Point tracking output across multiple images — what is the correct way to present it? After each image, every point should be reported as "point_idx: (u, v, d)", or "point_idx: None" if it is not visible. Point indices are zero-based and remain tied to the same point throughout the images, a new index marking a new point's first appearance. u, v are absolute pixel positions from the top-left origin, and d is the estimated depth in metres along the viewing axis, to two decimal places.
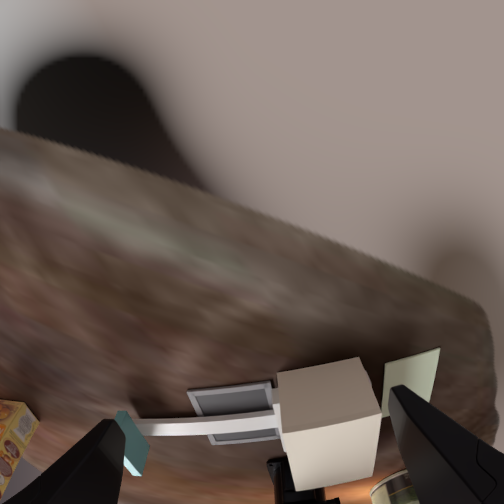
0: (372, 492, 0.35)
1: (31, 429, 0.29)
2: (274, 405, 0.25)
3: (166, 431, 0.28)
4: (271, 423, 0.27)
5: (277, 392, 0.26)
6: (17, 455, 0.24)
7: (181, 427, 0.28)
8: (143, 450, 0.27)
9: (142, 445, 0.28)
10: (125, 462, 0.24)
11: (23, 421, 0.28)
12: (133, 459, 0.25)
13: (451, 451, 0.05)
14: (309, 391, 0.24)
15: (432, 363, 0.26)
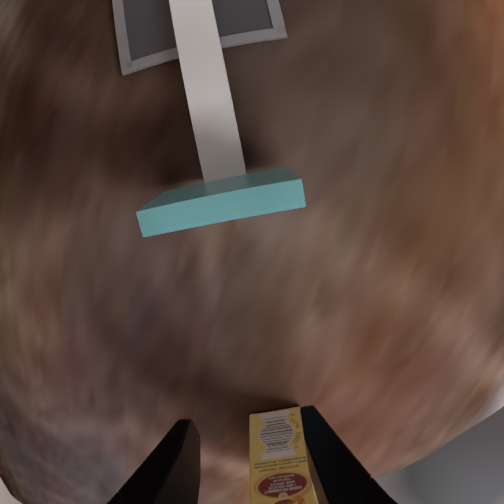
0: None
1: (293, 427, 0.20)
2: None
3: (220, 113, 0.14)
4: None
5: None
6: (301, 482, 0.15)
7: (197, 79, 0.13)
8: (268, 173, 0.14)
9: (258, 174, 0.14)
10: (229, 208, 0.11)
11: (267, 433, 0.20)
12: (236, 187, 0.12)
13: (334, 486, 0.05)
14: None
15: None
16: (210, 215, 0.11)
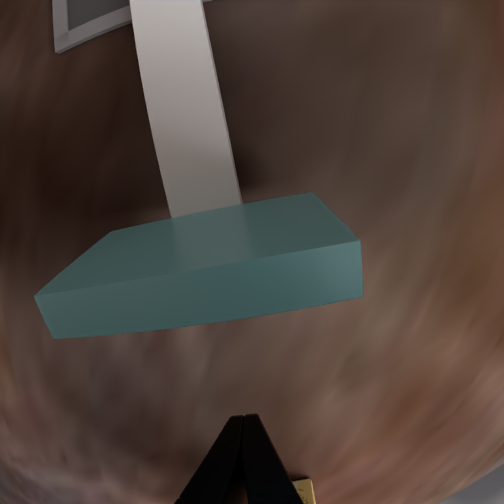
0: None
1: None
2: None
3: (195, 100, 0.08)
4: None
5: None
6: None
7: (159, 45, 0.07)
8: (281, 208, 0.08)
9: (262, 208, 0.08)
10: (202, 301, 0.05)
11: None
12: (217, 250, 0.06)
13: (258, 497, 0.05)
14: None
15: None
16: (162, 314, 0.05)
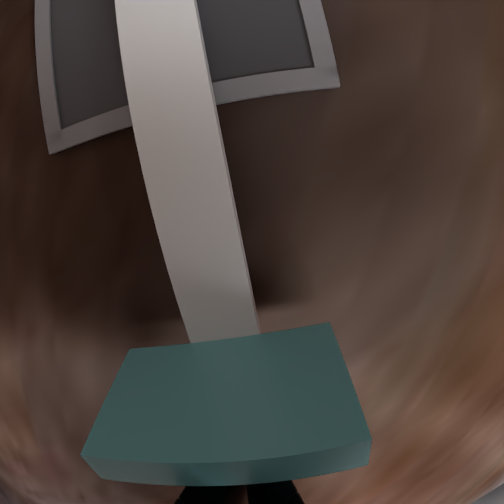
0: None
1: None
2: None
3: (212, 234, 0.08)
4: None
5: None
6: None
7: (167, 165, 0.07)
8: (301, 358, 0.08)
9: (282, 352, 0.08)
10: (237, 475, 0.05)
11: None
12: (248, 434, 0.06)
13: (258, 497, 0.05)
14: None
15: None
16: (204, 480, 0.05)
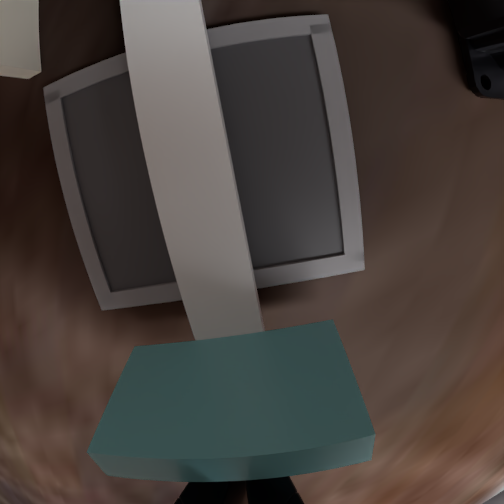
0: None
1: None
2: None
3: (217, 232, 0.08)
4: None
5: None
6: None
7: (173, 164, 0.07)
8: (305, 355, 0.08)
9: (285, 349, 0.08)
10: (242, 471, 0.05)
11: None
12: (253, 429, 0.06)
13: (258, 497, 0.05)
14: None
15: None
16: (209, 475, 0.05)
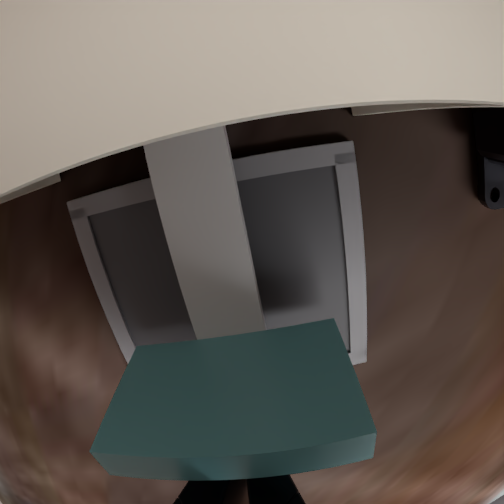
0: None
1: None
2: None
3: (218, 232, 0.08)
4: None
5: None
6: None
7: (173, 164, 0.07)
8: (306, 353, 0.08)
9: (287, 348, 0.08)
10: (245, 469, 0.05)
11: None
12: (255, 428, 0.06)
13: (259, 497, 0.05)
14: None
15: None
16: (212, 474, 0.06)
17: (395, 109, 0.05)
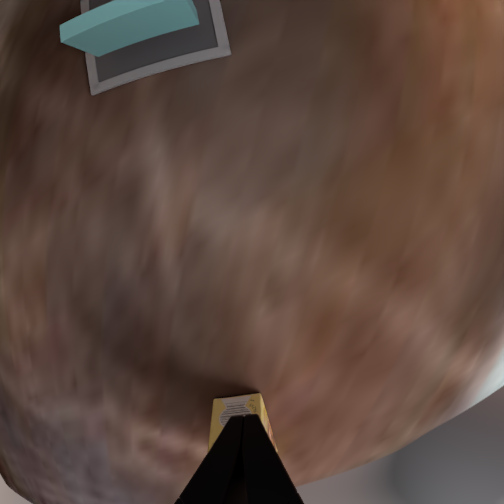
0: None
1: (251, 411, 0.22)
2: None
3: None
4: None
5: None
6: None
7: None
8: None
9: None
10: (124, 6, 0.10)
11: (227, 416, 0.22)
12: None
13: (257, 497, 0.05)
14: None
15: None
16: (110, 14, 0.10)
17: None
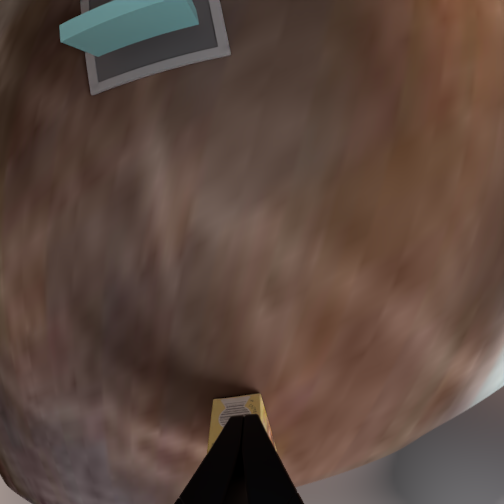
0: None
1: (250, 411, 0.22)
2: None
3: None
4: None
5: None
6: None
7: None
8: None
9: None
10: (124, 6, 0.10)
11: (227, 416, 0.22)
12: None
13: (257, 497, 0.05)
14: None
15: None
16: (109, 14, 0.10)
17: None
